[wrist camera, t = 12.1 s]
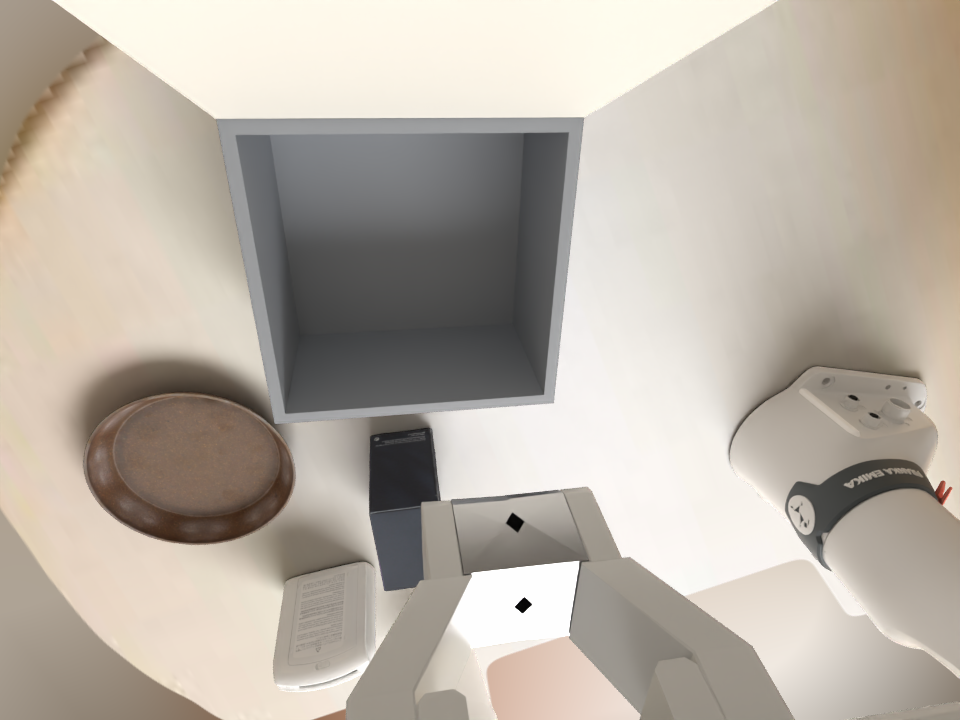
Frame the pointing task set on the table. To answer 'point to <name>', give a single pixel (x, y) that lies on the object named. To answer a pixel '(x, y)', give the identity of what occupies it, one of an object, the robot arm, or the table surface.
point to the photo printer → (326, 628)
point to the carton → (404, 259)
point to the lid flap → (408, 52)
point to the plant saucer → (189, 468)
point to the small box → (401, 502)
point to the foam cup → (475, 691)
